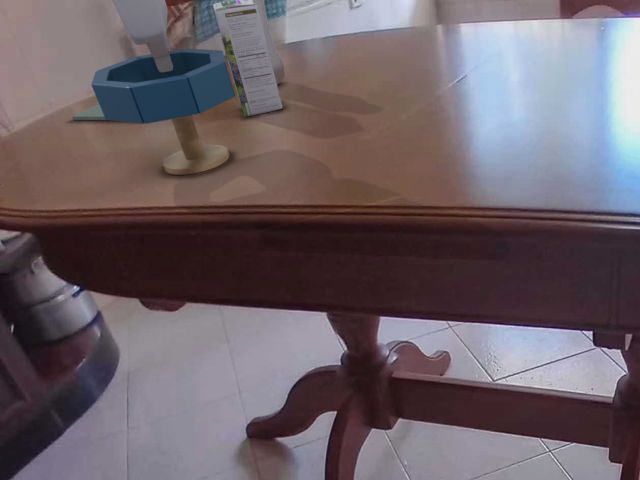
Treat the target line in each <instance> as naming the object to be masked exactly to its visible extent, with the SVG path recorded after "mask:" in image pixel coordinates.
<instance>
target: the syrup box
mask: <svg viewBox="0 0 640 480" xmlns="http://www.w3.org/2000/svg"><path fill="white" fill-rule="evenodd" d="M212 7H213V11H214V14H215V17H216V18H215V19H216V22H217V26H218V30H219V34H220V37H221V41H222V45H223V49H224V52H225V57H226V60H227V63H228V67H229V69H230V73H231V77H232V80H233V83H234V87H235V90H236V93H237V97H238V101H239V103H240V107H241V109H242V112H243V115H244V116H245V117H252V116H257V115H260V114H261V115H262V114H265V113H270V112H274V111H278V110H283V109H284V106H283V102H282V98H281V94H280V90H279V87H278V84H277V83H276V79H275V75H274V71H273V67H272V63H271V59H270V55H269V51H268V47H267V43H266V39H265V35H264V31H263V27H262V24H261V20H260V16H259V12H258V9H257V5H256V3H255V2H254V0H227V1H223V0H222V1H218V2H216V3H213V4H212Z"/></svg>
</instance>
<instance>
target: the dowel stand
mask: <svg viewBox="0 0 640 480" xmlns="http://www.w3.org/2000/svg"><path fill="white" fill-rule="evenodd" d="M170 121H171V122H172V125H173V128H174V131H175V134H176V137H177V139H178V142H179V145H180V148H181V150H178V151H175V152H174V153H172V154H170V155H168V156H167V157H166V158H165V159H164V160H163V161H162V166H163V169H164V171H165V172H166V173H167V174H170V175H177V176H184V175H194V174H198V173H203V172H206V171H209V170H213V169H215V168H217V167H219V166H221V165H223V164H225V163H226V162H227V161H228V159H229V158H230V153H229V149H228V147H226V146H225V145H220V144H203V143H202V141H201V138H200V134H199V132H198V130H197V126H196V123H195V121H194V118H193V115H190V116H185V117H180V118H174V119H170Z"/></svg>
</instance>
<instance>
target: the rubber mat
mask: <svg viewBox="0 0 640 480" xmlns="http://www.w3.org/2000/svg"><path fill="white" fill-rule="evenodd" d="M71 118H72V120H73V121H107V120H106V119H105V117H104V114H103V112H102V109H101V107H100V105H99V103H98V104H95V105H93V106H90V107H89V108H87V109H85V110H83V111H80V112H78V113H75V114H74V115H71Z"/></svg>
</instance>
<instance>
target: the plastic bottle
mask: <svg viewBox="0 0 640 480" xmlns="http://www.w3.org/2000/svg"><path fill="white" fill-rule="evenodd" d="M223 1H227V0H222V2H223ZM254 2H255V3H256V5H257V9H258V12H259V16H260V20H261V24H262V27H263V31H264V35H265V39H266V43H267V47H268V51H269V55H270V59H271V63H272V67H273V71H274V75H275V79H276V83H277V85H278V84H281V83H282V82H284V79H285V66H284V63H283V60H282V58H281V56H280V54H279V52H278V50H277V47H276V44H275V41H274V38H273V35H272V32H271V29H270V24H269V23H268V16H267V10H266V6H265V5H266V4H265V0H254Z"/></svg>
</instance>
